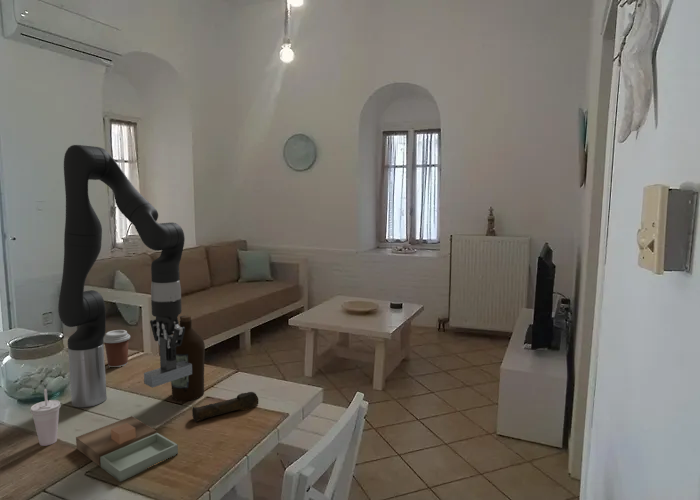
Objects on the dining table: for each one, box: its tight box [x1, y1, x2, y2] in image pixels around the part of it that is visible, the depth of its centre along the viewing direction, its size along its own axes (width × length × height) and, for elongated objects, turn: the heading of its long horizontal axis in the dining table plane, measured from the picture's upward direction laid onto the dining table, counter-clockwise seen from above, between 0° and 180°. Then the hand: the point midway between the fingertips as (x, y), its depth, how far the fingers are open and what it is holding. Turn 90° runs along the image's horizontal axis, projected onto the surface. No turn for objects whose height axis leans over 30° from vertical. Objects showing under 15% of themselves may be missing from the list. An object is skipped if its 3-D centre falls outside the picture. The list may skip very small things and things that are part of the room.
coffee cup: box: [103, 329, 131, 368], centre depth 172 cm, size 9×9×12 cm
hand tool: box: [191, 391, 259, 423], centre depth 136 cm, size 19×4×5 cm, turn 121°
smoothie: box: [29, 388, 62, 447], centre depth 119 cm, size 6×6×14 cm
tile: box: [111, 423, 136, 444], centre depth 116 cm, size 4×4×2 cm
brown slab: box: [75, 415, 157, 467], centre depth 118 cm, size 12×14×3 cm
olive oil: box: [170, 314, 206, 402], centre depth 146 cm, size 11×11×25 cm
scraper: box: [143, 334, 192, 388], centre depth 130 cm, size 4×12×12 cm, turn 142°
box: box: [100, 432, 179, 482], centre depth 112 cm, size 9×14×2 cm, turn 142°
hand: (168, 358), depth 130 cm, fingers closed on scraper, 3 cm apart
